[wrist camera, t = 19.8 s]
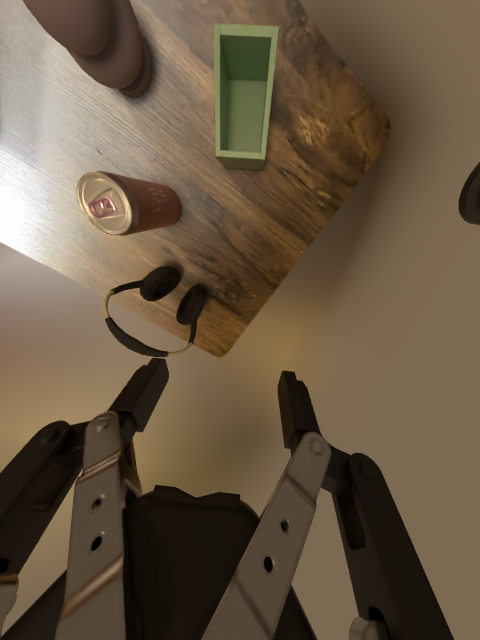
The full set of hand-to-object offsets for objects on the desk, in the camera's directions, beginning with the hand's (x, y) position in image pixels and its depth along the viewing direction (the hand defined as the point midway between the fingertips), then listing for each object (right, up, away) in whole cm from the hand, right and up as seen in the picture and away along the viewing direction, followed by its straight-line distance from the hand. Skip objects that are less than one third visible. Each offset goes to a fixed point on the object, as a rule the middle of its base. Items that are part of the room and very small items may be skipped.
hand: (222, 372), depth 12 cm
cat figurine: (-14, +37, +10) cm, 41 cm away
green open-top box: (+1, +25, +12) cm, 28 cm away
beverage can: (-12, +24, +19) cm, 33 cm away
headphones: (-12, +11, +28) cm, 32 cm away
